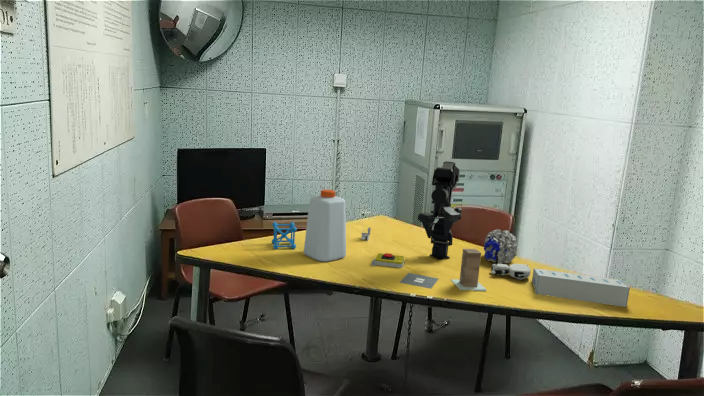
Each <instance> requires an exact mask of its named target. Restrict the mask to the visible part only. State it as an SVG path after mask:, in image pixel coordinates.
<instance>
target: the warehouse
mask: <svg viewBox="0 0 704 396" xmlns="http://www.w3.org/2000/svg"><path fill="white" fill-rule="evenodd" d="M531 281H532V285H533V288H534V292H535V295H539V294H541V295H540V296H546V295H549V296H548V297H553V296H554V297H555V298H560V297H561V299H567V300H574V299H575V301H581V302H589V303H594V302H595V304H601V303H602V305H603V304H604V305H608V304H609V305H610V306H616V307H623V308H627V306H628V300H629V295H630V286H628V285H626V284H625V283H623V281H621V280H620V279H617V278H609V277H601V276H595V275H587V274H580V273H579V274H578V273H573V272H565V271H559V270H558V271H557V270H549V269H542V268H541V269H540V268H536V267H534V268H533V270H532V280H531Z"/></svg>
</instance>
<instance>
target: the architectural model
mask: <svg viewBox="0 0 704 396" xmlns="http://www.w3.org/2000/svg"><path fill="white" fill-rule="evenodd" d="M371 229H372V228H371V227H370V226H369V227H368V228H367V232H366V230H364V231H361V236H360V237H361V238H360V240H366V241H367V242H368V241H369V240H370V235H371Z"/></svg>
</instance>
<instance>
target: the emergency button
mask: <svg viewBox="0 0 704 396" xmlns="http://www.w3.org/2000/svg"><path fill="white" fill-rule="evenodd" d="M404 264H405V256H404V255H396V254H392V253H387V252H386V253H381V252H380V253H377V254H376V256H375V258H373V259H372V261H371V264H370V265H371V266H374V267H376V266H380V267H381V266H382V267H392V268H398V269H402V268H403V267H404Z"/></svg>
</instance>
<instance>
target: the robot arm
mask: <svg viewBox="0 0 704 396" xmlns="http://www.w3.org/2000/svg"><path fill="white" fill-rule="evenodd" d="M433 171H434V172H433V174H432V181H431V186H435V187H434V190H433V191H432V193H431V195H430V196H431V204H433V209H432V210H430V213H429V212H420V213H418V214H417V221H419V222H420V223H421V224H422V226H423V228H424V231H425V234H426V236H427V238H428V239H430V244H432V247H431V254H429V256H430V257H431V258H434V259H436V260H439V261H440V260H447V259H450V256H449V255H448V253H449V247H450V246H452V245H453V236H454V235H453V234H452V233H453V232H452V231H451V229H452V227H453V226H454V224H455V223H457V222H459V221H460V220H461V219H462V208H460V207H456V208H453V207H452V204H451V203H452V195H453V191H455V189H456V188H457V185H458V183H459V181H460V169H459V167H457V166H456V162H454V161H443V165H442V166H440V167H439V166H438V167H436V169H434V170H433ZM437 219H438V220H437ZM435 220H437V221H436V222H435Z"/></svg>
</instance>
